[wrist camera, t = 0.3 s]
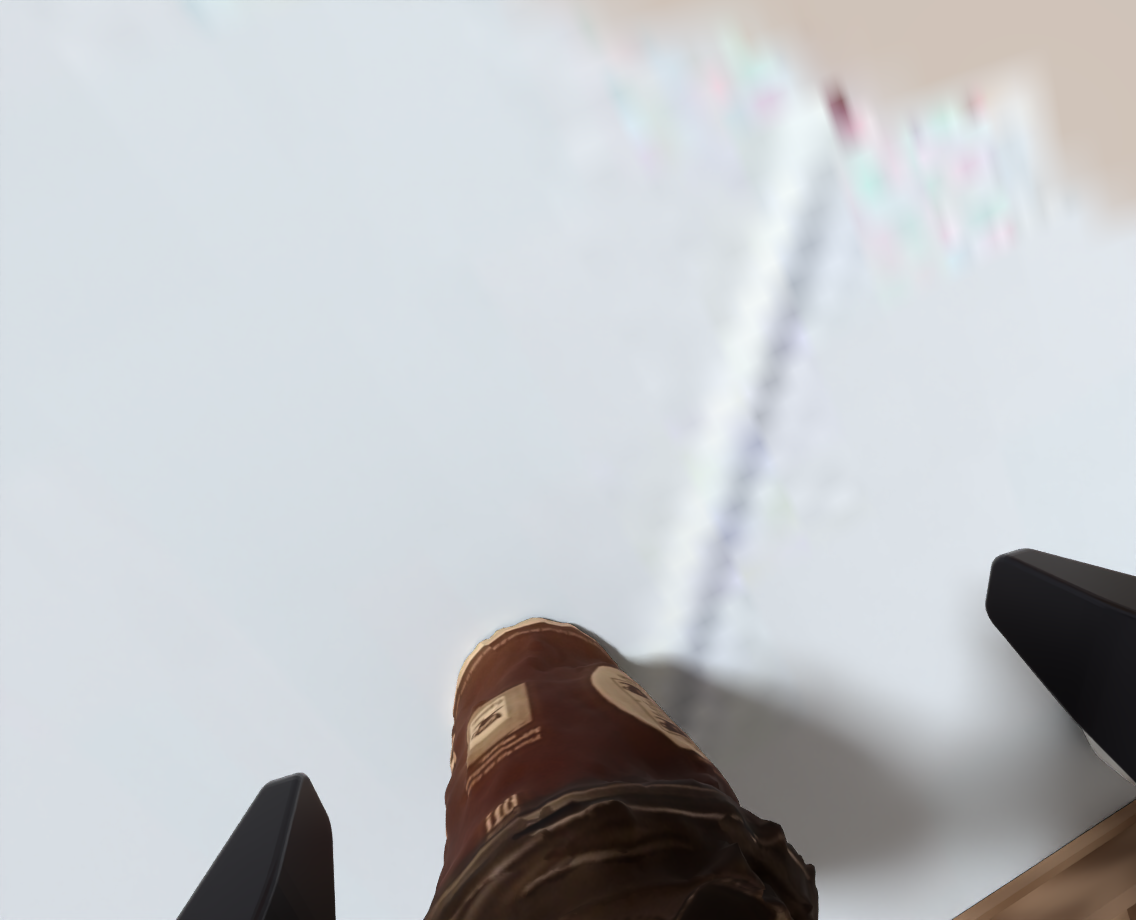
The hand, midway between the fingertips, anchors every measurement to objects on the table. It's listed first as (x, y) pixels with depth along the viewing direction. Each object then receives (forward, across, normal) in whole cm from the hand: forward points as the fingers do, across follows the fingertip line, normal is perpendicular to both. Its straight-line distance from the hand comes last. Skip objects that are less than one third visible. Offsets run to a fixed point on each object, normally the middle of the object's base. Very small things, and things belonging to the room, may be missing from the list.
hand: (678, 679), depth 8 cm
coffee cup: (+13, +1, +12) cm, 18 cm away
